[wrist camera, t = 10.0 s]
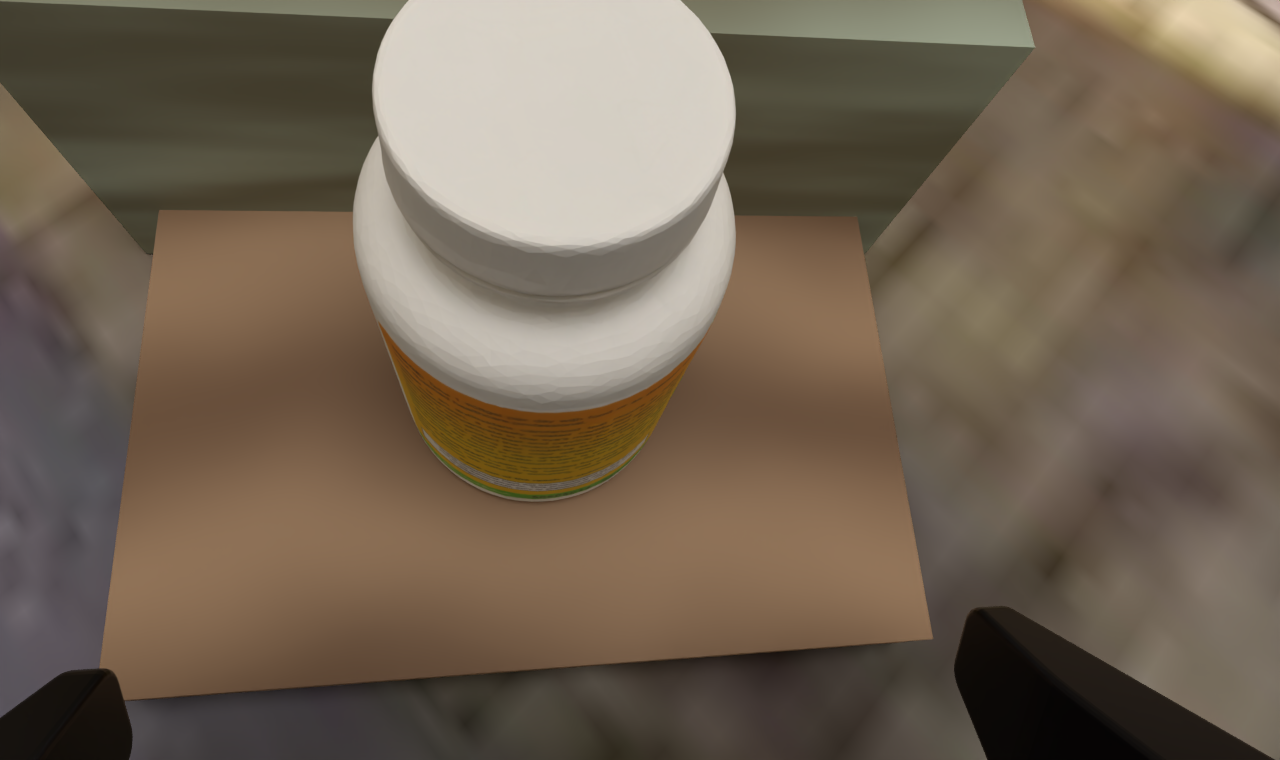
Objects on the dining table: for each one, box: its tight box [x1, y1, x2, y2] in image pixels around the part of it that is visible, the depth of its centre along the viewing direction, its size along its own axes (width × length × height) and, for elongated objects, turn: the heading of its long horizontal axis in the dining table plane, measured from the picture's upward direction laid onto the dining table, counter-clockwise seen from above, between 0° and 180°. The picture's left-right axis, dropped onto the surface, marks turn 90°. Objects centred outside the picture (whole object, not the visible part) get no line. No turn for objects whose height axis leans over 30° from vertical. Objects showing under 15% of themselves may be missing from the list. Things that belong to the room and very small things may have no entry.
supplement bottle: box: [353, 0, 736, 502], centre depth 14 cm, size 5×5×10 cm
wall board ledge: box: [0, 0, 1035, 701], centre depth 16 cm, size 12×18×8 cm, turn 94°
